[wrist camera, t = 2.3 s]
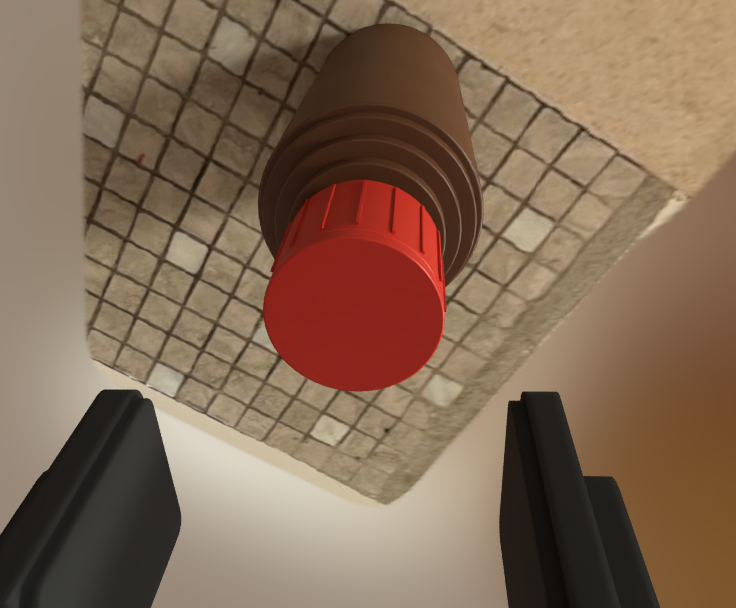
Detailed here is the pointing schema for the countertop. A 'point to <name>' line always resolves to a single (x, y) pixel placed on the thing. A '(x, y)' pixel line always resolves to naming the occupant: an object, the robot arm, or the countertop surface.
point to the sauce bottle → (381, 138)
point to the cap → (357, 288)
